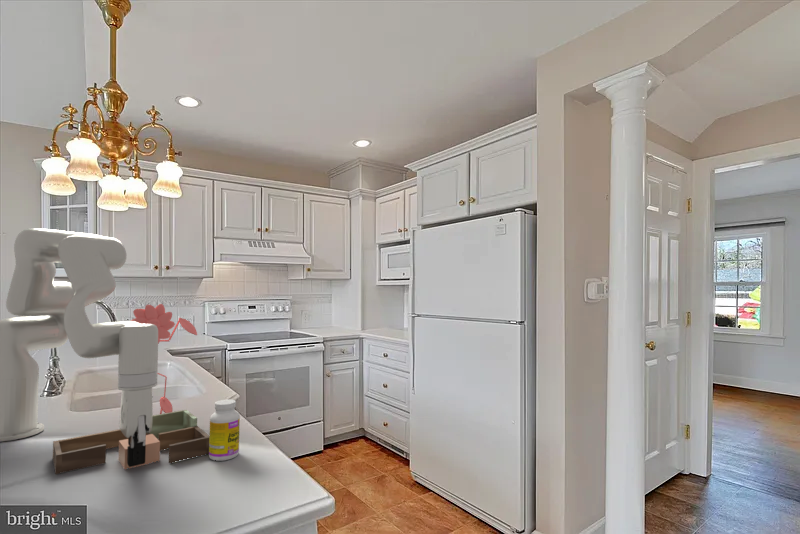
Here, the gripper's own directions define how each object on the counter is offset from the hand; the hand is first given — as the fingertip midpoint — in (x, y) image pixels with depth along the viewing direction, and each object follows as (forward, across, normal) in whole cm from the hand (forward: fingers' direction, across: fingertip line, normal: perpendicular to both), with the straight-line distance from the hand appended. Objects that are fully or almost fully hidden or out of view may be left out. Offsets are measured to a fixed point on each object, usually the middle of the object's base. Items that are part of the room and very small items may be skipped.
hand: (136, 463), depth 96 cm
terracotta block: (+2, -6, +2) cm, 6 cm away
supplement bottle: (+2, +4, +18) cm, 18 cm away
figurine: (+2, -34, +9) cm, 36 cm away
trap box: (+1, -10, +1) cm, 10 cm away
